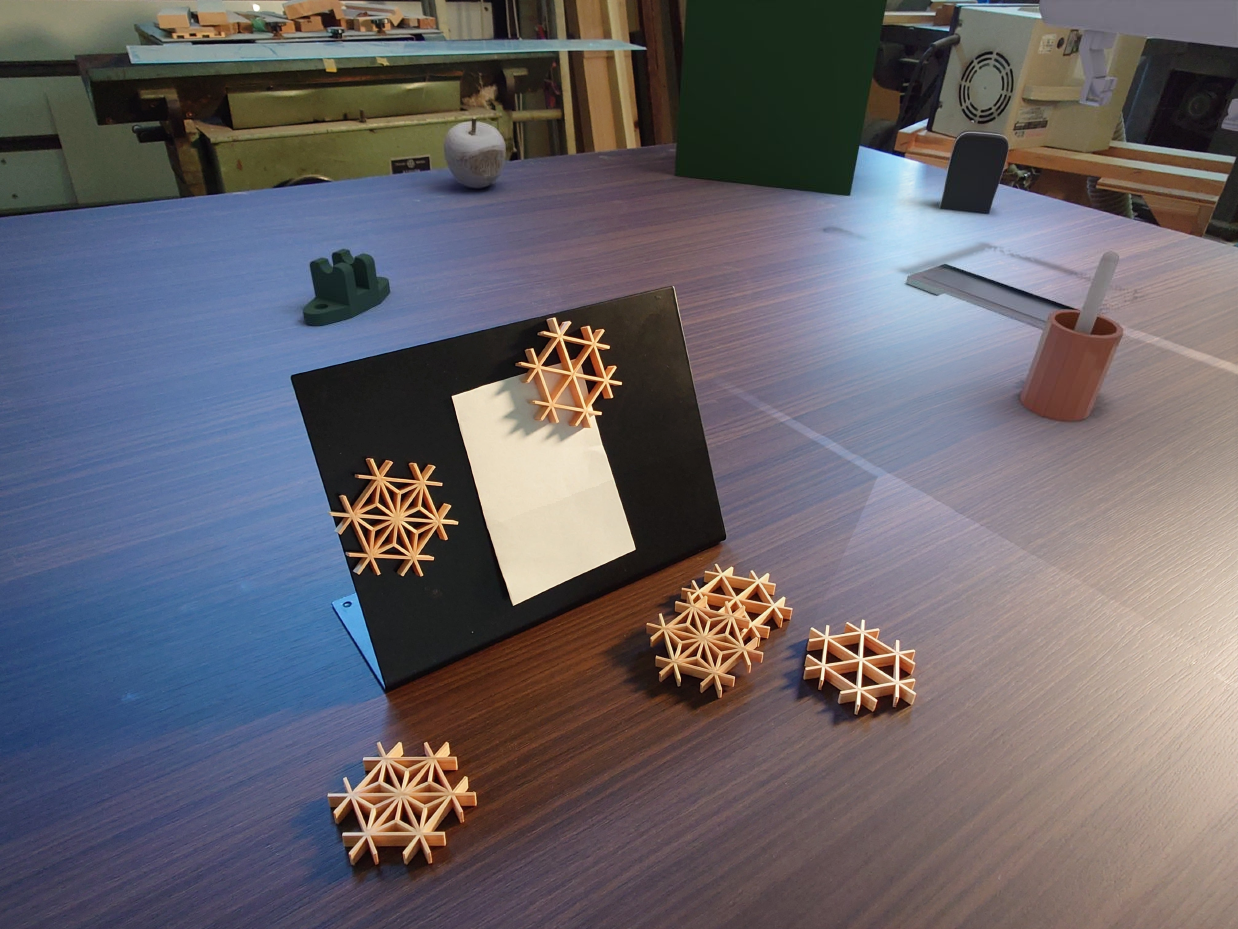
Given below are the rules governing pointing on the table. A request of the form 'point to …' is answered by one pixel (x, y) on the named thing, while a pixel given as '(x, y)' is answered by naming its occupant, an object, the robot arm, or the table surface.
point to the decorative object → (475, 153)
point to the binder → (776, 91)
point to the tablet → (987, 294)
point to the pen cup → (1069, 366)
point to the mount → (344, 288)
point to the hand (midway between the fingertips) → (1161, 116)
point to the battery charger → (974, 171)
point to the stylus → (1097, 292)
